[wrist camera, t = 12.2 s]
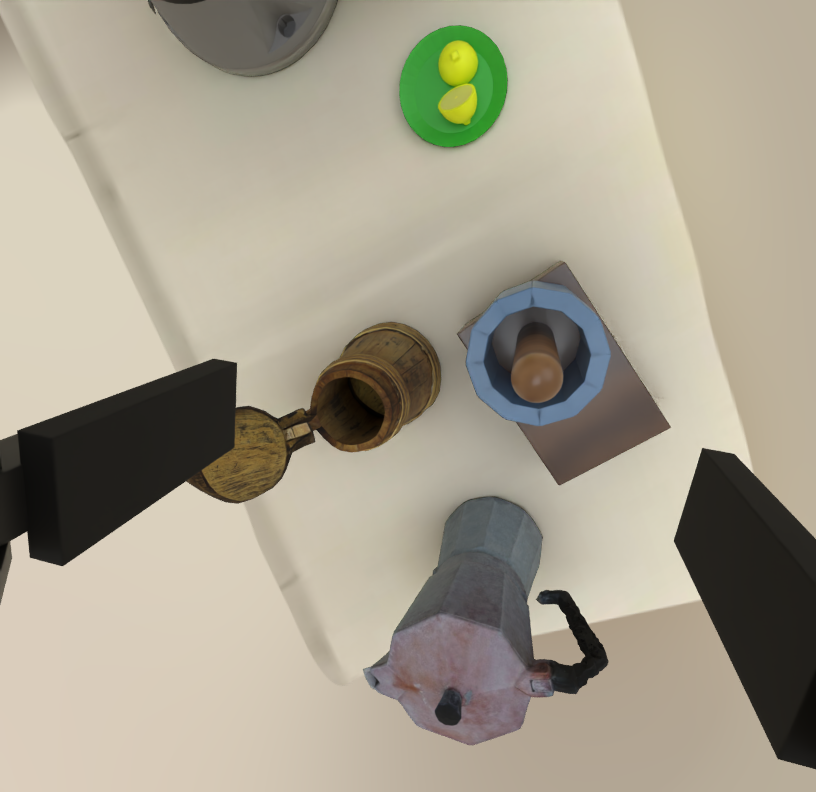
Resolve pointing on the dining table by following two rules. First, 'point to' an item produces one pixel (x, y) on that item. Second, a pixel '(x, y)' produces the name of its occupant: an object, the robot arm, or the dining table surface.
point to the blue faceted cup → (578, 377)
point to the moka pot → (480, 631)
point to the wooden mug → (332, 411)
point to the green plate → (453, 86)
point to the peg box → (543, 377)
